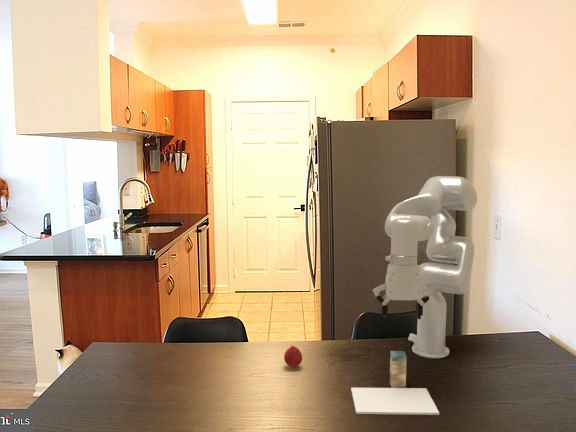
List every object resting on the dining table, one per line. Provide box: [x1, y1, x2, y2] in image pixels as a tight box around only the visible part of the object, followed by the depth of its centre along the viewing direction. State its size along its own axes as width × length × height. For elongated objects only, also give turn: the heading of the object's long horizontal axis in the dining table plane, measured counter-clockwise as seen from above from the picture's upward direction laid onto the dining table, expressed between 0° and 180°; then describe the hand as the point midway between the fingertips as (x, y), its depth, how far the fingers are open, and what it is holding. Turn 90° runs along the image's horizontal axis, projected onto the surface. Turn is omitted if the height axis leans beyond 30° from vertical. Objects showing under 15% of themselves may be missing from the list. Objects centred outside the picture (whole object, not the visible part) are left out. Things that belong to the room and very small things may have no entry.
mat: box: [350, 387, 440, 416], centre depth 140 cm, size 22×14×1 cm, turn 89°
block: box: [389, 350, 408, 388], centre depth 149 cm, size 4×4×10 cm
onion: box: [283, 344, 303, 369], centre depth 162 cm, size 6×6×8 cm
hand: (401, 317), depth 147 cm, fingers open, 9 cm apart
